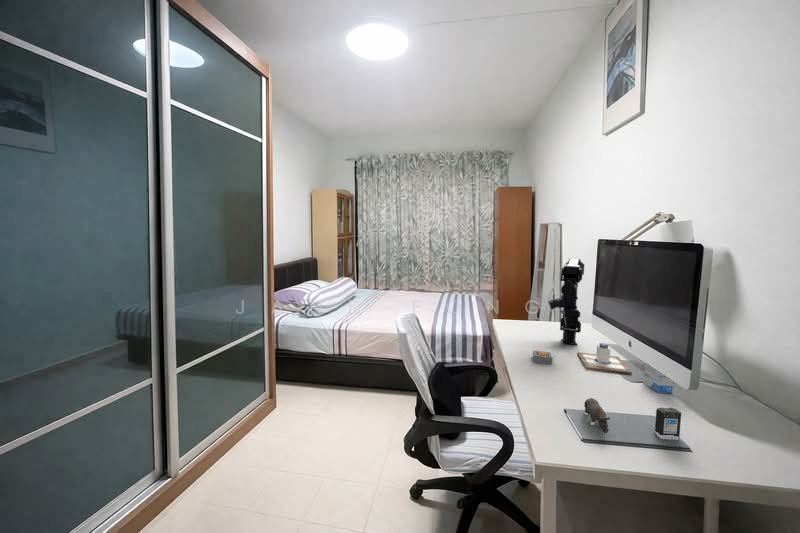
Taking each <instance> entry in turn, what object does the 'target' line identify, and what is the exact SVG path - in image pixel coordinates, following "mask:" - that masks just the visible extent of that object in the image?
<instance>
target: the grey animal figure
mask: <svg viewBox="0 0 800 533" xmlns="http://www.w3.org/2000/svg"><path fill="white" fill-rule="evenodd" d="M583 406H584V412H586V413H588V414H589V415H588V416H589V417H590V419H591V421H592V422H596V421H597V424H598V425H599V426H600V427H599V426H598V427H599V428H600V429H601V431H602V433H603V432H604V434H605V433H606V434H607V433H608V432H609V430H610V429H609V424H608V421H607V420H611V417H607V414H606V412H605V410H604V409H603V407H602V406H601V405H600V403H599V400H597V399H595V398H593V397H589V398H587V399H586V400H585V401H584V405H583ZM591 421H590V422H591Z"/></svg>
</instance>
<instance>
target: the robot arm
mask: <svg viewBox="0 0 800 533" xmlns="http://www.w3.org/2000/svg"><path fill="white" fill-rule="evenodd" d="M583 275H585V263H583V262H582V261H581V258H579V257H570V258H568V261H567V262H565V264H564V265H563V267H561V273H560V282H563V285H562V287H561V288H560V292H561V295H560V297H558V298H554V299H550V300H548V305H549V308H550V309H551V310H554V309H557V308H559V309H561V308H562V309H561V310H560V313H561V314H562V317H561V318H560V326H559V330H560V331H562V338H561V339H560V341H561V343H562V344H565V345H574V346H577V345H578V343H577V341H576V339H577V337H576V336H577V333H578V334H579V333H582V331H581V329H582V323H581V320H579V318H581V312H580V310H578V305H577V301H578V289H579V284H580V283H581V281H583Z"/></svg>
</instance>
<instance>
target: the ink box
mask: <svg viewBox="0 0 800 533" xmlns="http://www.w3.org/2000/svg"><path fill="white" fill-rule="evenodd" d="M642 378H643V379H642V384H645V385H646V386H647V387H649V388H651V390H653V391H655V392H657V393H659V394H672V393H673V389H674V388H673V387H674V380H673V381H671V380H670V379H668V378H667V377H666V376H665V375H663V374H662V373H660V372H659V371H657V370H656V369H654V368H653V367H651V366H650V365H649V364H647V363H645V362H644V370H643V377H642Z"/></svg>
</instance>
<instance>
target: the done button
mask: <svg viewBox="0 0 800 533" xmlns="http://www.w3.org/2000/svg"><path fill="white" fill-rule="evenodd" d="M537 351H538V354H537V355H541V356H548V353H547V352H548V351H544V352H543V350H537Z"/></svg>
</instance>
